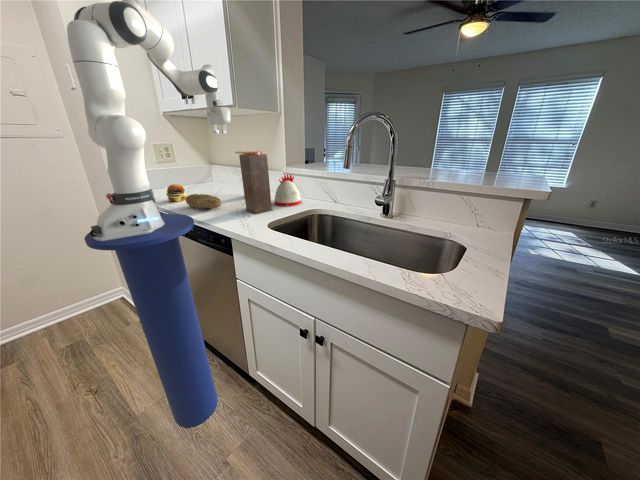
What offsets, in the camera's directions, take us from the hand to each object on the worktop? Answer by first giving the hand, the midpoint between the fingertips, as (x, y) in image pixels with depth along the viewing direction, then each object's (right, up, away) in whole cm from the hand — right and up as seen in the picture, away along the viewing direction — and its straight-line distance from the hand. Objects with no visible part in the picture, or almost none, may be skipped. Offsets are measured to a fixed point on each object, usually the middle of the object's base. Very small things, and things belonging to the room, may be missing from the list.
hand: (220, 133), depth 136 cm
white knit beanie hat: (+35, -36, +4) cm, 50 cm away
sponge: (-7, -39, -3) cm, 40 cm away
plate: (+18, -16, -15) cm, 28 cm away
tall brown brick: (+22, -41, -9) cm, 48 cm away
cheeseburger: (-30, -33, +13) cm, 46 cm away
